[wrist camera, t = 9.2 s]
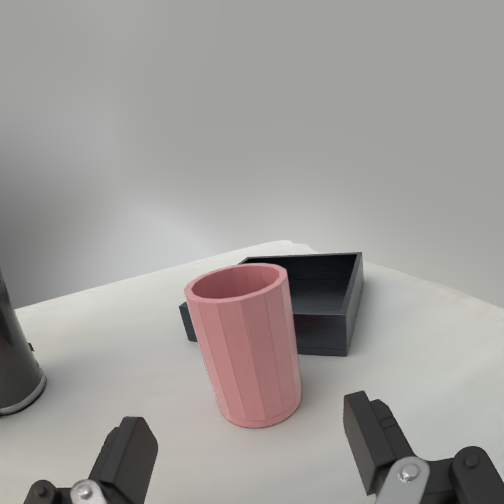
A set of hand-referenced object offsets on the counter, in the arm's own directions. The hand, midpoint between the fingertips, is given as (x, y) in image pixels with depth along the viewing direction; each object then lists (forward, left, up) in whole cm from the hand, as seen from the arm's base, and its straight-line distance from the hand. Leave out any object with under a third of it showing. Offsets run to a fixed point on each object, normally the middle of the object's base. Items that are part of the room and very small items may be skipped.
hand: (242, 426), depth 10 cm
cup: (+8, +4, -7) cm, 12 cm away
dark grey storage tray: (+23, +7, -7) cm, 25 cm away
